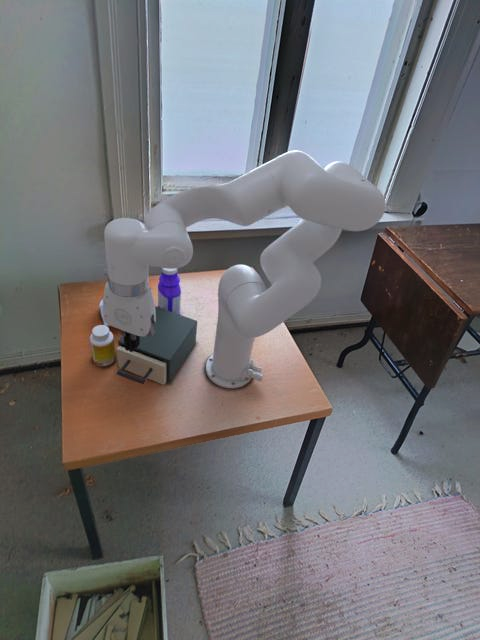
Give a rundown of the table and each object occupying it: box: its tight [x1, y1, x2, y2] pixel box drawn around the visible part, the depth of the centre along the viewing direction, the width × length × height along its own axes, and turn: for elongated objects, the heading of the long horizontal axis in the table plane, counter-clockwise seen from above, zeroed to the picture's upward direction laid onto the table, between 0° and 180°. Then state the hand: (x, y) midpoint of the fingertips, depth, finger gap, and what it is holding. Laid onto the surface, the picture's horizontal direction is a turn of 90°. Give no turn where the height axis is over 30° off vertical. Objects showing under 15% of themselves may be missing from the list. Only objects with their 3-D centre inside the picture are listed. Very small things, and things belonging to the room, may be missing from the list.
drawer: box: [116, 345, 167, 386], centre depth 102 cm, size 19×13×7 cm, turn 160°
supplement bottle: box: [89, 324, 117, 367], centre depth 101 cm, size 6×6×10 cm
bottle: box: [157, 268, 182, 315], centre depth 114 cm, size 7×6×17 cm
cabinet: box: [117, 305, 198, 384], centre depth 106 cm, size 16×14×9 cm
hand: (132, 346), depth 91 cm, fingers closed
